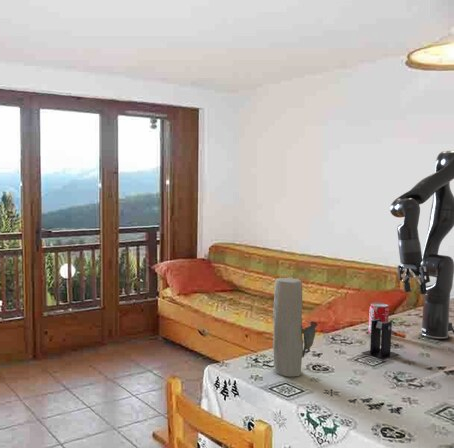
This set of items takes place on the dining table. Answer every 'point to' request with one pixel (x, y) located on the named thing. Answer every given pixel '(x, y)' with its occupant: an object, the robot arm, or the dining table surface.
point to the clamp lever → (379, 326)
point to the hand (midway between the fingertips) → (415, 292)
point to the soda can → (378, 313)
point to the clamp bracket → (385, 341)
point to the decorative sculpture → (289, 327)
